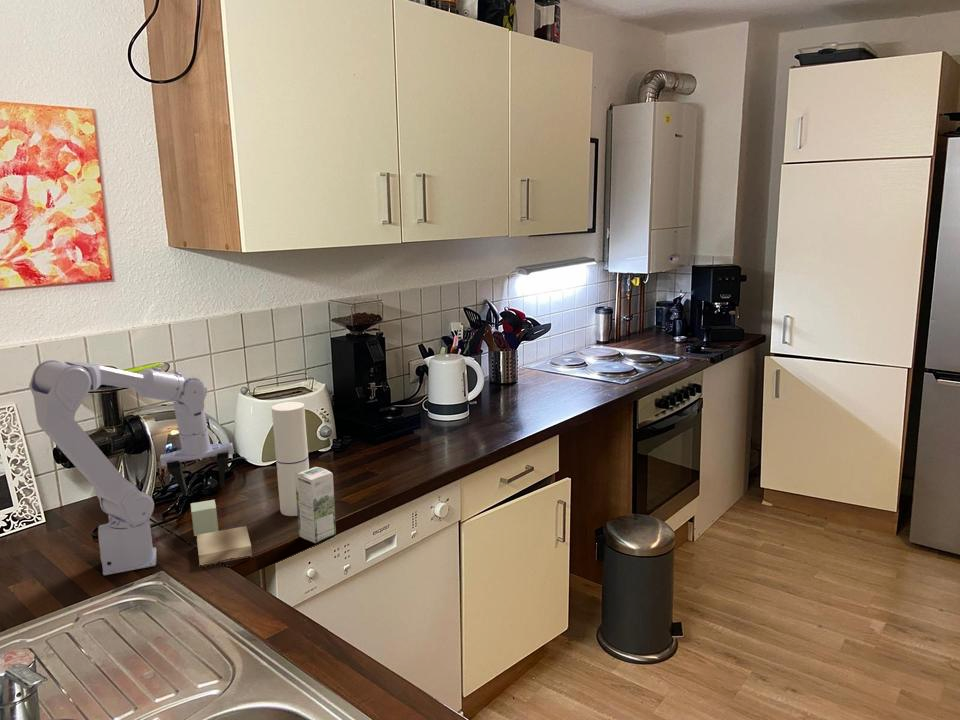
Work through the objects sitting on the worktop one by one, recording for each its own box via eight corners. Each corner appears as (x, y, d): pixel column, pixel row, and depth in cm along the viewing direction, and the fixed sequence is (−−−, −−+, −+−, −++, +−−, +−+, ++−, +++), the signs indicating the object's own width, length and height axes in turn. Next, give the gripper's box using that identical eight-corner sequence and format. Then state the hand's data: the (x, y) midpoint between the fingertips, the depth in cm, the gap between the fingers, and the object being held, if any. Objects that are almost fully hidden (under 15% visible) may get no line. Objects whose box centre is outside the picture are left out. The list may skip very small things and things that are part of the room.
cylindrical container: (292, 518, 169) (283, 412, 164) (274, 510, 174) (265, 406, 168) (318, 508, 174) (310, 405, 169) (300, 500, 179) (292, 400, 173)
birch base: (200, 569, 148) (198, 555, 147) (197, 548, 157) (196, 534, 156) (252, 559, 152) (251, 545, 151) (247, 538, 161) (246, 526, 160)
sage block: (194, 538, 161) (191, 512, 159) (193, 528, 165) (190, 503, 164) (218, 533, 163) (216, 507, 161) (217, 524, 167) (214, 499, 166)
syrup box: (319, 527, 164) (315, 465, 161) (337, 534, 161) (333, 471, 157) (298, 537, 160) (293, 473, 157) (316, 544, 156) (311, 479, 153)
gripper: (228, 419, 164) (238, 475, 168) (157, 430, 160) (169, 488, 163) (229, 429, 157) (239, 488, 161) (155, 441, 153) (167, 502, 157)
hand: (203, 489), depth 162 cm, fingers open, 7 cm apart
